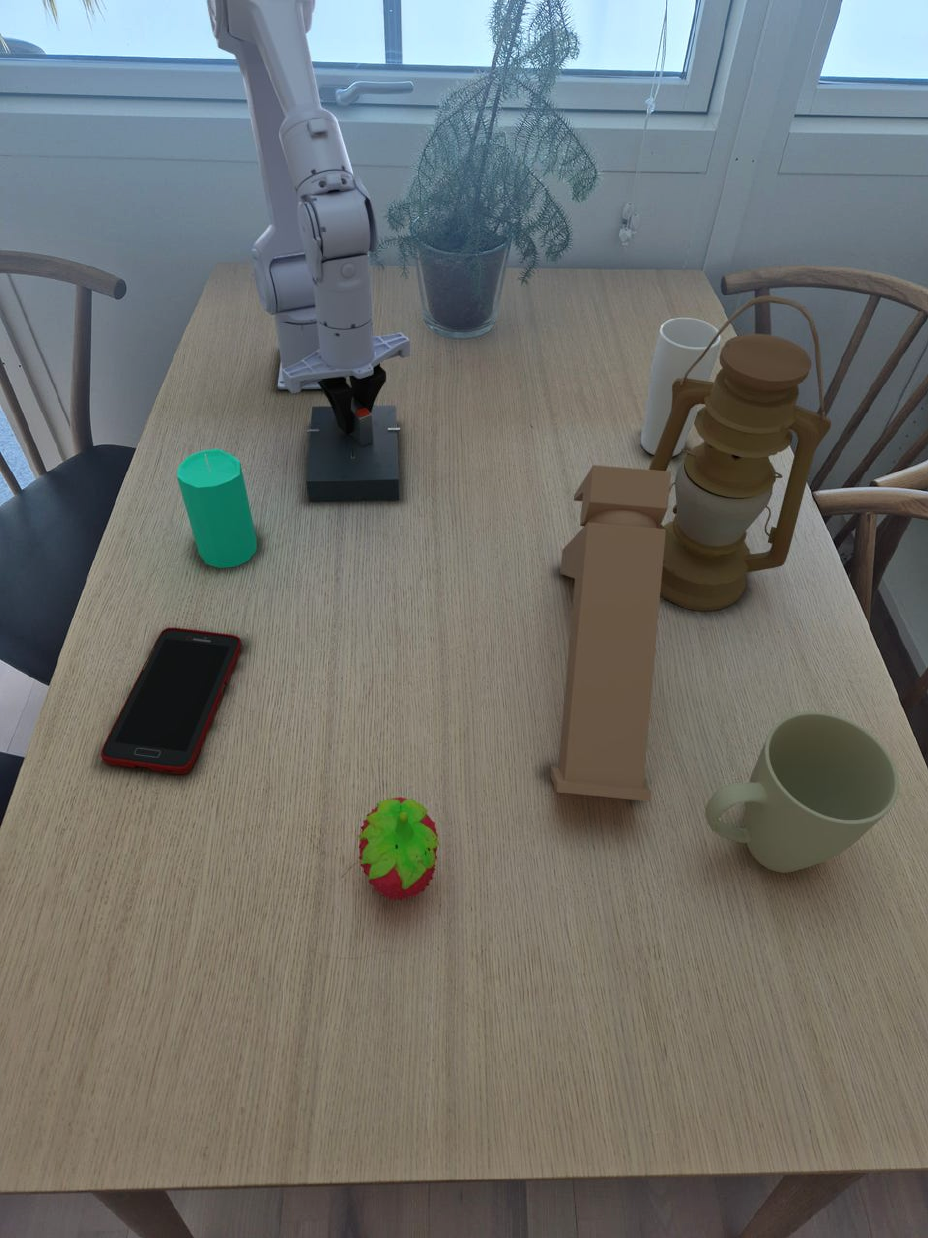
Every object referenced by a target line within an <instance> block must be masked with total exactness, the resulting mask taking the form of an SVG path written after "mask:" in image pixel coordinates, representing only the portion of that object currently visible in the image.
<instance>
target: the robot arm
mask: <svg viewBox="0 0 928 1238" xmlns="http://www.w3.org/2000/svg"><path fill="white" fill-rule="evenodd" d="M205 1H206V7H207V12H208V16H209V21H210V26H211V31H212V34H213V37H214V38H215V40H216V46H217V48H218V49H219V50H222V51H224V52H227V53H229V54H232V55H233V56H234V57H235V58H234V59H235V60H236V63H237V65H238V68H239V72H240V73H241V76H242V79H243V80H242V81H243V85H244V86H243V87H244V92H245V96H246V102H247V107H248V112H249V118H250V123H251V129H252V134H253V138H254V143H255V149H256V154H257V159H258V165H259V170H260V177H261V180H262V181H261V182H262V185H263V186H262V187H263V191H264V196H265V201H266V202H265V203H266V207H267V212H268V217H269V222H270V223H269V226H268V227H267V228H266V230H265V231H264V232H263V233H262V234H261V235H260V236H259V238H258V239H256V241H255V242H254V244H253V246H252V251H251V254H252V261H253V274H254V281H255V286H256V291H257V294H258V298H259V302H260V304H261V306H262V308H263V310H264V311H265V312H266V313H268V314H269V316H273V315H274V322H275V329H276V335H277V343H278V349H279V355H280V364H279V373H278V379H277V388H278V389H279V390H287V391H288V392H290V393H291V394H297V393H300V392H301V391H302V390H322V392H323V393H324V395H325V397H326V399H327V401H328V403H329V405H330V406H331V407H332V409H333V411H334V414H335V417H336V420H337V423H338V426H339V427H340V429H341V430H342V431H343V432H344V433H345V434H350V433H352V417H351V402H352V396H354V397H355V398H356V399H357V400H358V401H359V402H360V403H361V404H362V405H363V406H364V407H365V408H366V409H367V410H368V411H369V412H370V413H371V412H372V409H373V406H375V402H376V400H377V396H378V395H379V393H380V391H381V390H382V388H383V386H384V385H385V384H386V382H387V372H386V370H384V368H382V367H381V364H382V363H383V362H384V361H387V360H389V359H393V358H396V357H398V356H399V358H406V357H407V358H408V357H410V356H411V341H410V339H409V338H408V337H407V336H406V335H404V334H403V333H402V332H401V331H400V332H397V333H393V334H387V335H377V336H374V323H373V321H374V320H373V305H372V304H373V303H372V285H371V284H372V283H371V266H370V265H371V264H370V253H374V252H376V249H377V246H378V225H377V224H378V223H377V217H376V212H375V207H374V204H373V201H372V198H371V195H370V193H369V192H368V190H367V188H366V187H365V186H364V185H363V182H362V179H361V177H360V176H359V175H354V171H353V168H352V165H351V161H350V158H349V154H348V151H347V147H346V144H345V141H344V137H343V134H342V131H341V128H340V124H339V121H338V118H337V117H336V116H335V115H334V114H333V113H332V112H330V111H329V110H327V109H325V108H324V107H322V103H321V99H320V93H319V89H318V85H317V79H316V75H315V70H314V66H313V61H312V55H311V52H310V47H309V42H308V37H307V34H308V33H309V32H310V31H311V30H312V25H313V14H314V12H315V9H316V2H317V1H316V0H205ZM369 252H370V253H369ZM346 377H348V378H349V379H348V380H349V384H350V385H349V384H348V383H347V378H346Z"/></svg>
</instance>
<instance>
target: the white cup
mask: <svg viewBox="0 0 928 1238" xmlns="http://www.w3.org/2000/svg"><path fill="white" fill-rule="evenodd" d="M718 332H719V330H718V329H717V328H716V327H715V326H714V325H712V324H710V323H708V322H707V321H704V320H701V319H697V318H692V317H676V318H672V319H669V320H666V321H665V322H664V323H662V324H661V326H660V328H659V332H658V335H657V338H656V341H655V346H654V350H653V354H652V360H651V365H650V372H649V379H648V387H647V394H646V395H647V396H646V404H645V410H644V417H643V424H642V429H641V434H640V445H641V447H642V448H643V450H644V451H646V452H647V453H648V454H650V455H653V456H654V454H655V452H656V449H657V447H658V444H659V441H660V439H661V436H662V433H663V431H664V428H665V425H666V423H667V420H668V417H669V415H670V412H671V407H672V385H673V383H674V381H675V380H676V379H679V378H682V377H684V376H685V373H686V372H687V371H688V369H689V368H690V367H691V366H692V365H693V364H694V362H695V361H696V360H697V359H698V358H699V357H700V356H701V355H702V354H703V352H704V351H705V349H706V348H707V347H708V345H709V344H710V343H711V341H712V340H713V339H714V337H715V336H716V334H717V333H718ZM721 334H722V333H721ZM721 334H720V335H719V336H718V338H717V339H716V340H715V342H714V343H713V344H712V346H711V347H710V348H709V350H708V351H707V352H706V354H705V355H704V356H703V358H702V359H701V360H700V361H699V362H698V363H697V364H696V365H695V367H694V368H693V369H692V370H691V371H690V373H689V374H688V376H687V378H688V379H694V380H701V381H708V382H710V381H711V377H712V374H713V371H714V368H715V365H716V362H717V358H718V355H719V352H720V347H721V341H722V335H721ZM700 405H701V404H698V405H695V406H694V407H692V408H691V410H690V412H689V415H688V417H687V420H686V422H685V425H684V427H683V430H682V432H681V435H680V437H679V440H678V442H677V445H676V447H675V450H674V452H673V455H672V457H675V456H677V455H678V456H679V454H680V453H682V452H683V451H682V450H681V449H682V448H685V446H686V443H687V439H688V436H689V433H690V431H691V428H692V426H693V424H694V421H695V418H696V415H697V412H698V411H699V407H700Z"/></svg>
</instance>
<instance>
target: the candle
mask: <svg viewBox="0 0 928 1238" xmlns="http://www.w3.org/2000/svg"><path fill="white" fill-rule="evenodd" d="M176 478H177V482H178V485H179V489H180V493H181V496H182V500H183V503H184V506H185V510H186V513H187V517H188V520H189V524H190V527H191V530H192V535H193V537H194V542H195V544H196V545H195V546H196V549H197V552H198V555H199V557H200V558H201V559H202V560H203V562H204V563H205V564H206V565H209V566H211V567H215V568H218V569H224V568H236V567H238V566H240V565H242V564H244V563H247V562H249V561H250V560H251V558H252V557H253V556H254V555H255V554H256V552H257V548H258V546H257V545H258V539H257V536H256V529H255V526H254V520H253V517H252V512H251V506H250V501H249V496H248V493H247V492H248V491H247V488H246V484H245V483H246V482H245V479H244V474H243V469H242V464H241V461H240V459H238V458H237V457H236V456H234V454H231V453H229V452H226V451H225V450H223V449H221V448H211V449H203V450H200V451H198V452H195V453H193V454H190V455H188V456H187V457H186V458H185V459H184V460H183V461H182V462H181V463H180V464H179V465H178V467H177V471H176Z"/></svg>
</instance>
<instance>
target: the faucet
mask: <svg viewBox="0 0 928 1238" xmlns="http://www.w3.org/2000/svg"><path fill="white" fill-rule="evenodd" d="M671 477H672V471H668V470H666V471H656V470H649V469H646V468H645V469H644V468H634V467H633V468H632V467H631V468H630V467H620V466H618V467H617V466H607V465H594V464H593V465H592V466H591V468H590V469H589V471H588V472H587V474H586V476H585V477H584V478H583V480H582V482H581V483H580V485H579V487H578V488H577V490H576V491H575V493H574V494H573V501H574V502H581V510H580V519H579V520H580V521H579V527H581V529H580V530H579V531H578V533H576V535H574V537H573V538H572V539H571V540H569V542H568V543H567V544H566V545H565V546H564V547H563V548H562V549H561V560H560V569H559V570H560V571H559V573H560V575H563V576H566V577H569V578H572V579H574V587H573V598H572V599H573V600H572V608H571V609H572V611H571V622H570V632H569V643H568V655H567V665H566V666H567V667H566V675H565V677H566V678H565V688H564V699H563V710H562V721H561V733H560V741H559V742H560V744H559V756H558V766H552V765H550V772H549V776H550V779H551V781H552V783H553V787H554V789H555V791H556V793H561V794H570V795H581V796H590V797H602V798H611V799H622V800H633V801H641V802H643V801H644V802H652V790H651V789H650V788H649V786H648V785H646V784H645V782H644V779H645V778H644V777H645V769H646V757H647V748H648V747H647V745H648V736H649V735H648V734H649V725H650V724H649V723H650V713H651V702H652V691H653V690H652V689H653V680H654V679H653V677H654V670H655V669H654V667H655V657H656V645H657V635H658V632H657V631H658V624H659V623H658V621H659V611H660V599H661V596H660V590H661V579H662V568H663V557H664V546H665V534H666V529H658V528H659V527H660V525H662V523H663V520H664V518H665V516H666V514H667V511H668V509H669V502H670V501H669V500H670V493H669V490H670V486H671V479H672V478H671ZM670 491H671V490H670Z"/></svg>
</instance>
